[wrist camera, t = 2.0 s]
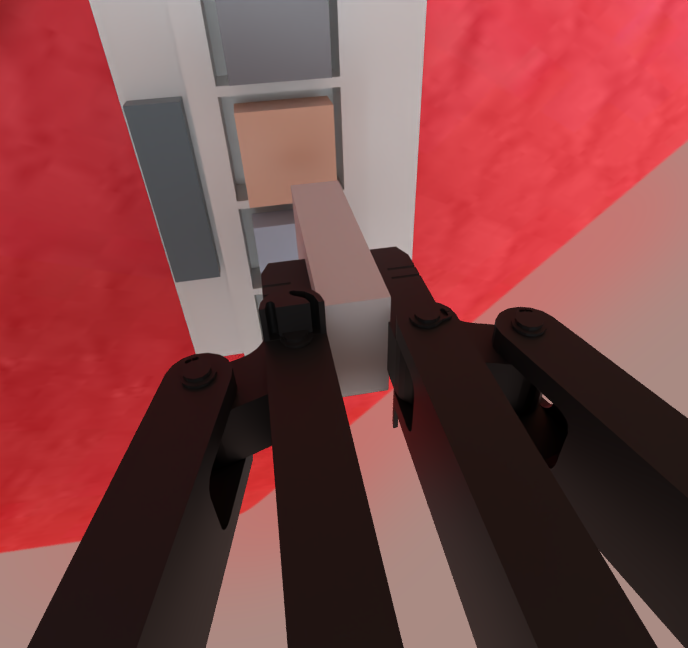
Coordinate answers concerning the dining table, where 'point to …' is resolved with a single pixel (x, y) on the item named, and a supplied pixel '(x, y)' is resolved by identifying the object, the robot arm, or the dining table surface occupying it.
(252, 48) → the key charcoal
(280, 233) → the key slate
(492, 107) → the dining table surface
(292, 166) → the key terracotta
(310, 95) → the keypad
